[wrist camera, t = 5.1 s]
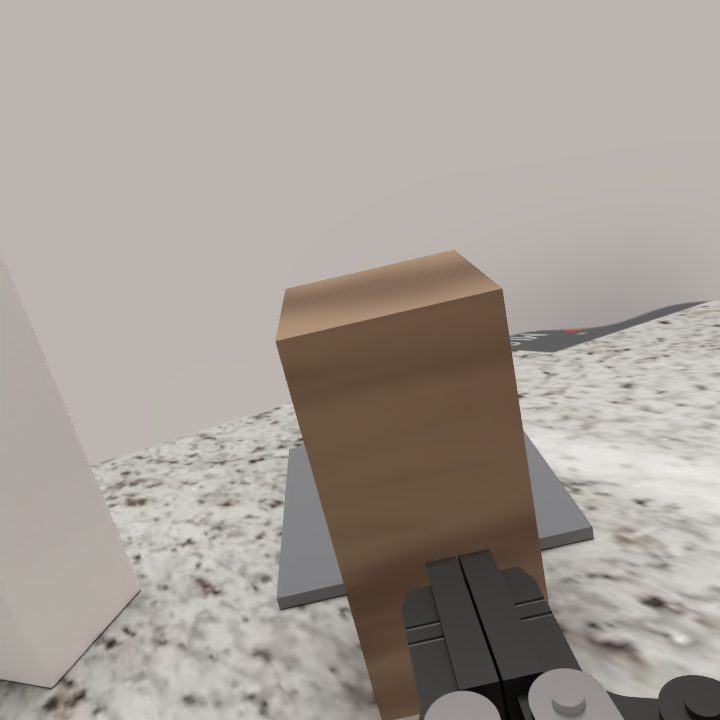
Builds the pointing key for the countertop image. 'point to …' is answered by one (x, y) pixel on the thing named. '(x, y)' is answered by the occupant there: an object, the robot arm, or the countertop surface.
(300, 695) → the countertop surface
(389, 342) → the light wood block
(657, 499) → the countertop surface
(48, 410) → the milk
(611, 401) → the countertop surface
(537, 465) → the mat
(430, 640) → the robot arm
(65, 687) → the countertop surface
